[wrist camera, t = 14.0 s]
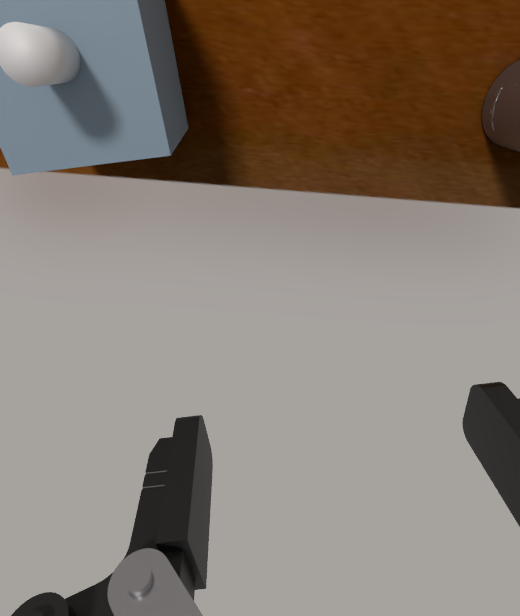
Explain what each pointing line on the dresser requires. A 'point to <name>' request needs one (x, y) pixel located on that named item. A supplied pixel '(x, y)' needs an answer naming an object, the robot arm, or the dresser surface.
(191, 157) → the dresser surface
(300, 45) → the dresser surface
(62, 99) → the block with white knob
